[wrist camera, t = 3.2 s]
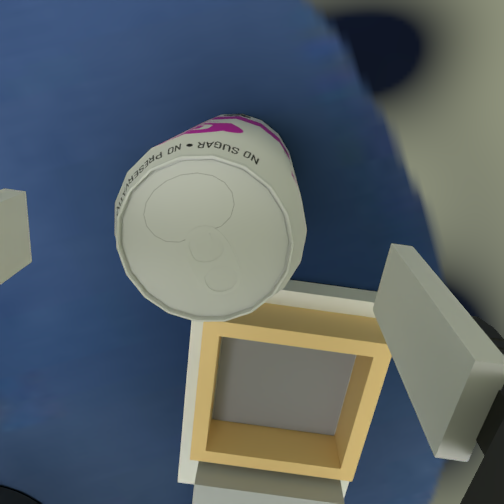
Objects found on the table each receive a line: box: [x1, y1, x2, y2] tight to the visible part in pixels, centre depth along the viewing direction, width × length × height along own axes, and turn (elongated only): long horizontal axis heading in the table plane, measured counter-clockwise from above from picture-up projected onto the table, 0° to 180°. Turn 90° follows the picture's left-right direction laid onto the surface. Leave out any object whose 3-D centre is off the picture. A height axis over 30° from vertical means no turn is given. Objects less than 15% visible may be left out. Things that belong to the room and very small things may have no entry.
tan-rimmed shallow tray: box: [178, 280, 392, 504], centre depth 34 cm, size 22×16×7 cm
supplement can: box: [115, 114, 307, 322], centre depth 23 cm, size 8×8×15 cm
